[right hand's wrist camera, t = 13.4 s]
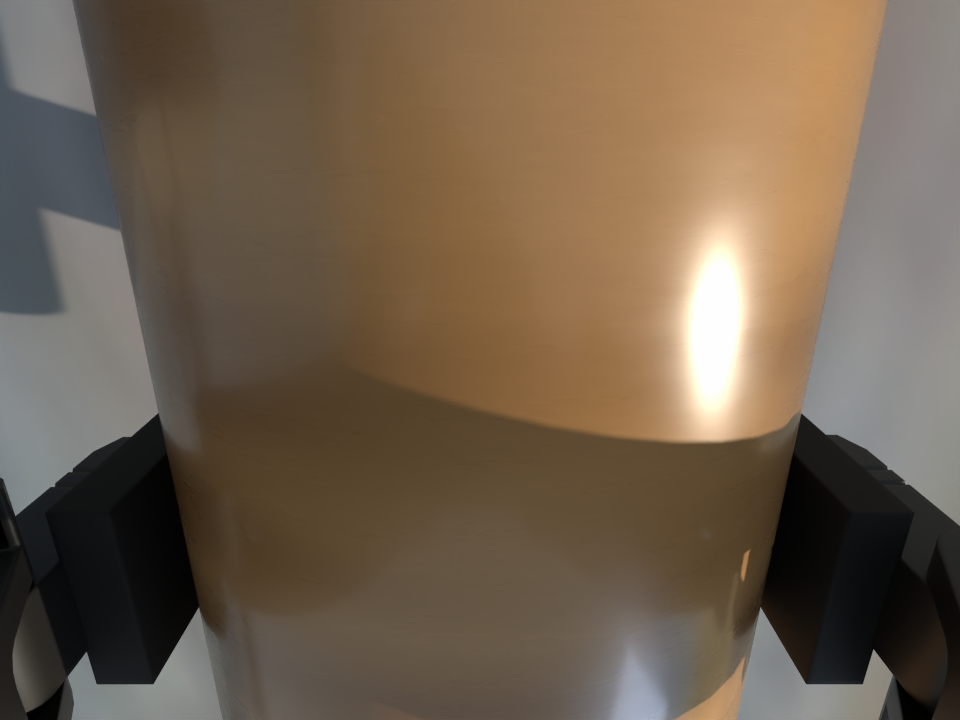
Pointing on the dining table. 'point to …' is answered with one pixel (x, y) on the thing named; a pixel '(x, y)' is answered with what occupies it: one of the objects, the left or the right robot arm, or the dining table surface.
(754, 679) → the dining table surface
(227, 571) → the rod
